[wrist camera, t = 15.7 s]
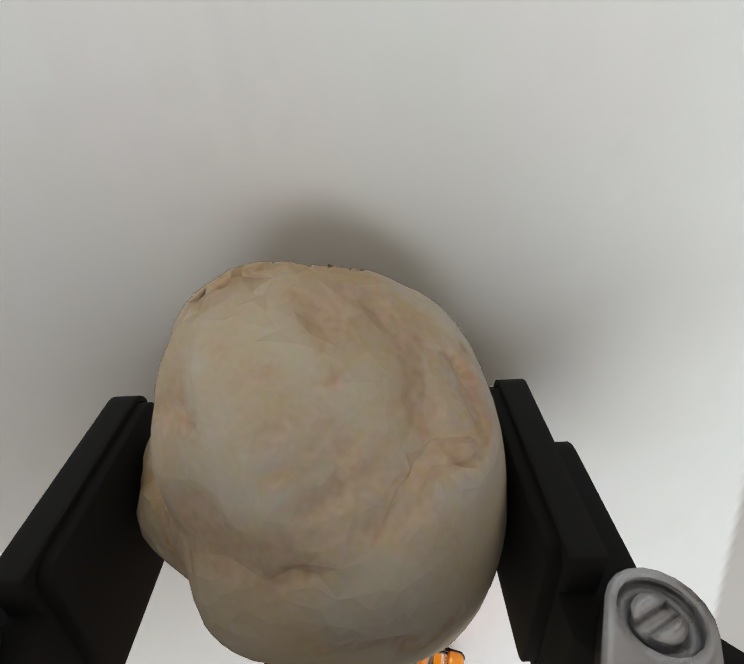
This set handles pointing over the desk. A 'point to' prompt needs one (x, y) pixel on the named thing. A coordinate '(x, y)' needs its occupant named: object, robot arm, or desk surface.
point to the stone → (324, 467)
